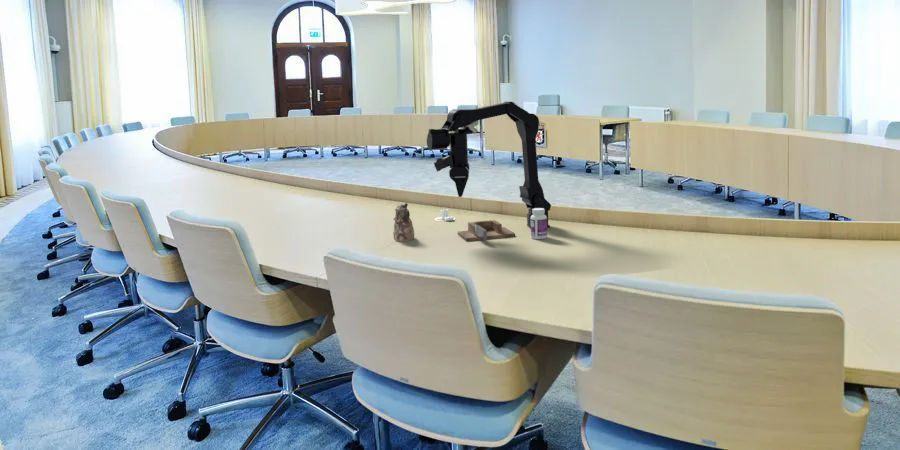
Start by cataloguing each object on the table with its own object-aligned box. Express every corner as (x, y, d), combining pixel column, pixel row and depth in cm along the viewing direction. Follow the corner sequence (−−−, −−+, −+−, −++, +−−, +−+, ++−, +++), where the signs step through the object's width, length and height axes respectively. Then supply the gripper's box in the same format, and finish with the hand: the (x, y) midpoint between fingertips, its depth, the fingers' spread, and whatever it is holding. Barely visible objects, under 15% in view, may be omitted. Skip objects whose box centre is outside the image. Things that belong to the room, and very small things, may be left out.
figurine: (389, 239, 233) (386, 204, 231) (404, 235, 238) (402, 201, 236) (403, 242, 229) (401, 206, 226) (418, 238, 234) (417, 203, 231)
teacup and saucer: (455, 222, 259) (455, 211, 258) (434, 223, 259) (433, 212, 258) (455, 217, 267) (455, 207, 266) (435, 218, 267) (434, 208, 267)
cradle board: (504, 229, 241) (504, 218, 240) (515, 236, 230) (514, 224, 229) (457, 234, 237) (457, 223, 236) (466, 241, 226) (465, 229, 225)
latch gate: (487, 239, 221) (487, 230, 220) (482, 240, 220) (482, 231, 220) (479, 233, 230) (479, 225, 229) (474, 234, 229) (474, 225, 229)
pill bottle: (548, 236, 228) (548, 207, 226) (545, 239, 224) (545, 210, 222) (532, 235, 230) (532, 207, 228) (529, 239, 225) (528, 210, 223)
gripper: (436, 146, 238) (438, 190, 241) (432, 151, 219) (434, 200, 223) (468, 144, 237) (470, 189, 240) (467, 150, 219) (469, 199, 222)
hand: (460, 194), depth 231 cm, fingers open, 9 cm apart
